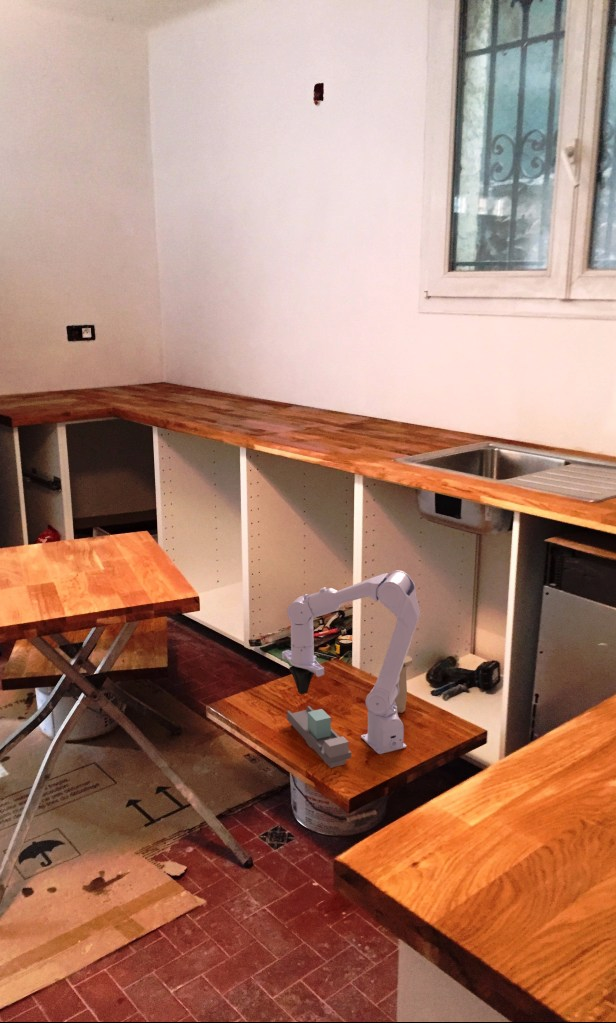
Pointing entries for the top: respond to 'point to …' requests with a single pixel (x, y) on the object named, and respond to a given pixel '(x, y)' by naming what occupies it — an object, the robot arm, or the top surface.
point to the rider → (319, 724)
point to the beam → (321, 740)
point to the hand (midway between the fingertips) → (303, 692)
